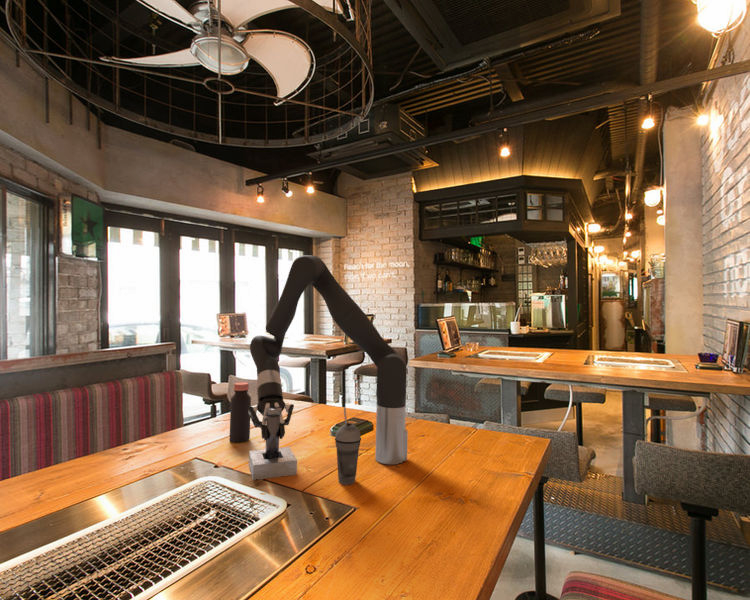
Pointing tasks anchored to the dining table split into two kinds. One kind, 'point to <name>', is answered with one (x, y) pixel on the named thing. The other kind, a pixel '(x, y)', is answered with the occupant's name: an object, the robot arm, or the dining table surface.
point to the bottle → (240, 413)
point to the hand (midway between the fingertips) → (273, 438)
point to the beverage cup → (347, 452)
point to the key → (272, 432)
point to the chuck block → (272, 464)
